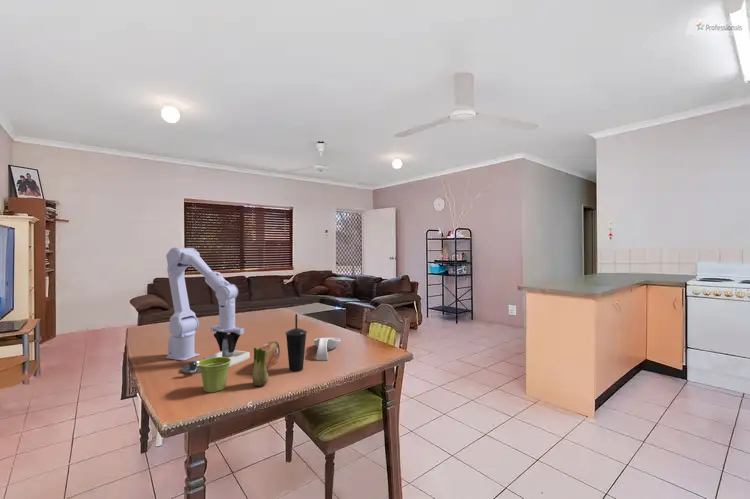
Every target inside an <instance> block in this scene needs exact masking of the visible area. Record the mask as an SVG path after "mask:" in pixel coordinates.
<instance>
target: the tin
mask: <svg viewBox="0 0 750 499" xmlns="http://www.w3.org/2000/svg"><path fill="white" fill-rule="evenodd" d="M262 347H263V349H265V350H266V353H265V364H266V370H268V369H270V368H271V367H272V366H274V365H276V364H277V362H278V361H279V359H280V355H281V354H280V345H279V343H278V342H277V341H268V342H266V343H265V344H263V345H261V346H260V347H258V348H262Z"/></svg>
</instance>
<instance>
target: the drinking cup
mask: <svg viewBox="0 0 750 499" xmlns="http://www.w3.org/2000/svg"><path fill="white" fill-rule="evenodd" d="M294 317H295V319H294V320H295V322H294V323H295V325H294V326H295V328H291V329H289V330H287V331H285V332H284V333H285V337H286V346H287V347H286V348H287V356H288V357H287V358H288V359H287V361H288V369H289V371H290V372H291V373H294V372H298V373H299V372H302V371H303V370H304V360H305V352H306V339H307V334H308V331H307V330H305V329H304V328H300V327H299V328H298V314H295V316H294Z"/></svg>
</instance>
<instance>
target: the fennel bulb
mask: <svg viewBox="0 0 750 499" xmlns="http://www.w3.org/2000/svg"><path fill="white" fill-rule="evenodd" d="M265 353H266V350H265V349H263V347H262V348H259V347H258V346H254V347H253V368H252V376H251V377H252V378H251V379H252V383H253V386H255V387H262V386H265V385H266V384H267V383H268V382H269V374H268V371H267V370H268V369H267V370H266V364H265Z"/></svg>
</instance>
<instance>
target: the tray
mask: <svg viewBox="0 0 750 499" xmlns="http://www.w3.org/2000/svg"><path fill="white" fill-rule="evenodd" d="M250 354H251V353H250V351H245V350H243V351H242V350H234V352H233V356H232V357H229V358H230V359H231V362H230V364H229V367H228V369H229V368H230V367H234V366H236V365H238V364H240V363H243V362H245V361H247V360H249V359H251V358H250V356H251V355H250ZM213 357H222V351H219V352H216V353H213V354H210V355H209V356H208V355H207V356H205V357H203V359H202V360H204V359H208V358H213Z"/></svg>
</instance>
